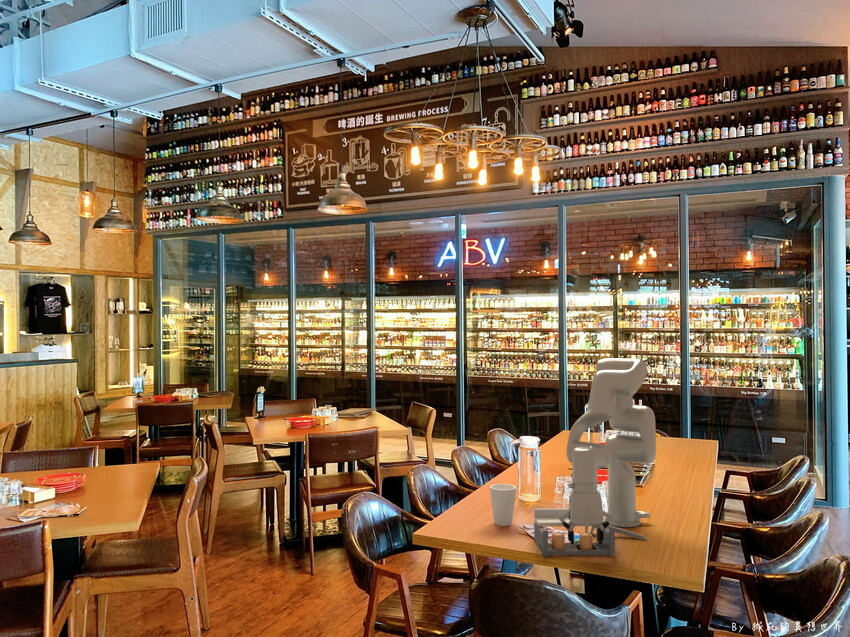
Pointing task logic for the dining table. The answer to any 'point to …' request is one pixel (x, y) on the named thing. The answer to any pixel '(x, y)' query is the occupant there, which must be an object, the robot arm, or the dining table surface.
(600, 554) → the housing
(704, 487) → the dining table surface
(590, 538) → the peg
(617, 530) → the caliper
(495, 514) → the foam cup
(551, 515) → the lid
